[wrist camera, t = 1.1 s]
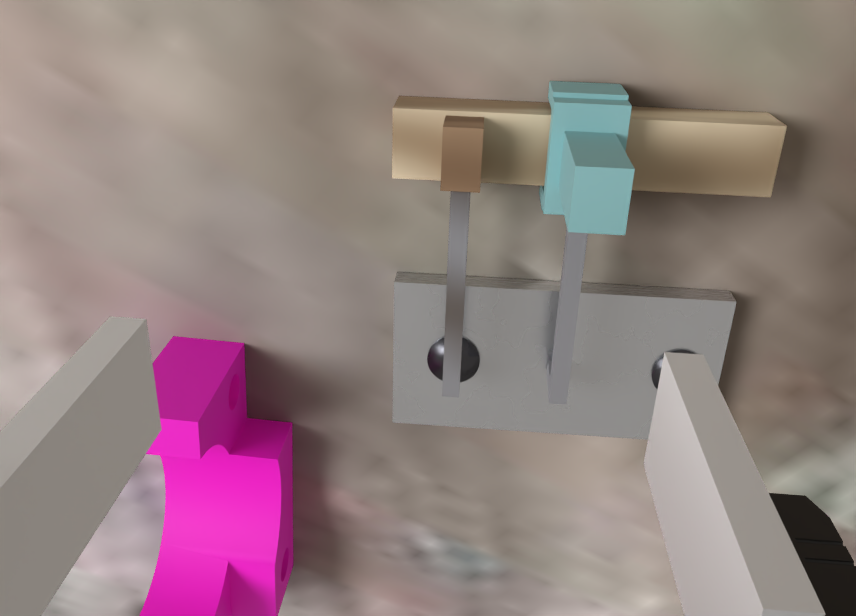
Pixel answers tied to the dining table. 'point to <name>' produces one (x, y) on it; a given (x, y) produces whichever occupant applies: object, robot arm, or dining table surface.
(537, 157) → the rail
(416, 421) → the bolt plate
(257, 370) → the dining table surface
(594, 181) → the sliding trammel head
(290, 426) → the toy block
